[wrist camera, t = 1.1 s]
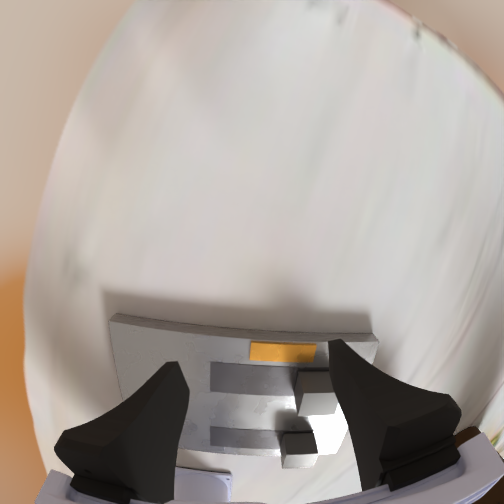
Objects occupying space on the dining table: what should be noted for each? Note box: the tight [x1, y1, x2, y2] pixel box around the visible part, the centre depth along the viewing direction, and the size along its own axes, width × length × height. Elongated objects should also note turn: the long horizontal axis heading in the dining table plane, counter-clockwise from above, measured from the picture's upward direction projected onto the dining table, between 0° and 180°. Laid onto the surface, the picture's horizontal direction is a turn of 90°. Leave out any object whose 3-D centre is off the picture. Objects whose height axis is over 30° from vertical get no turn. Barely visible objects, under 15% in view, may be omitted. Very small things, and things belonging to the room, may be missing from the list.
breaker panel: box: [108, 314, 379, 456], centre depth 23 cm, size 15×22×2 cm
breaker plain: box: [280, 433, 319, 469], centre depth 22 cm, size 2×3×3 cm
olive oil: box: [454, 427, 504, 504], centre depth 16 cm, size 11×11×25 cm
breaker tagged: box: [294, 371, 339, 416], centre depth 20 cm, size 2×3×3 cm
